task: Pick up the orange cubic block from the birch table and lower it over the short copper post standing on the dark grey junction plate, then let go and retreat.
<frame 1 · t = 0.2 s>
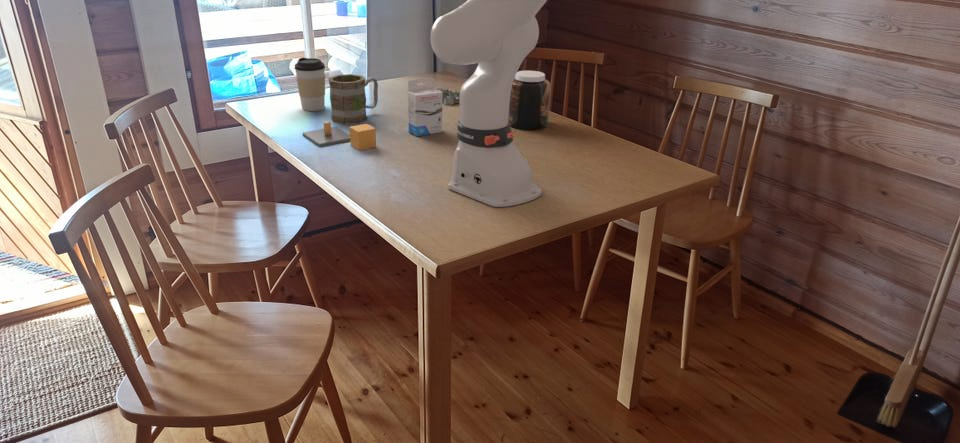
ink box: (425, 132, 190), on the table
orange cubic block: (363, 145, 178), on the table
mug: (356, 117, 201), on the table
junction plate: (328, 137, 183), on the table
coffee cup: (313, 108, 209), on the table
jar: (527, 125, 198), on the table
egg carton: (446, 101, 220), on the table
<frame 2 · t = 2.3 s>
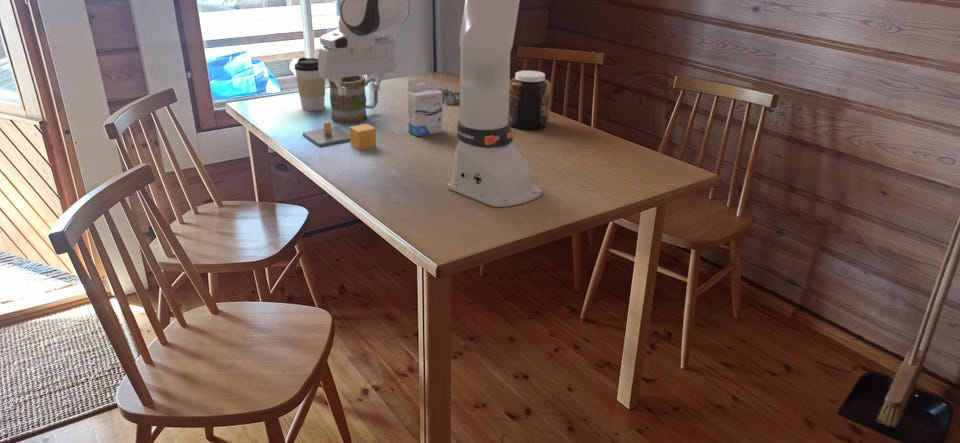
hand: (359, 92, 172), 14 cm above the table, fingers open, 8 cm apart
nothing on the table moved.
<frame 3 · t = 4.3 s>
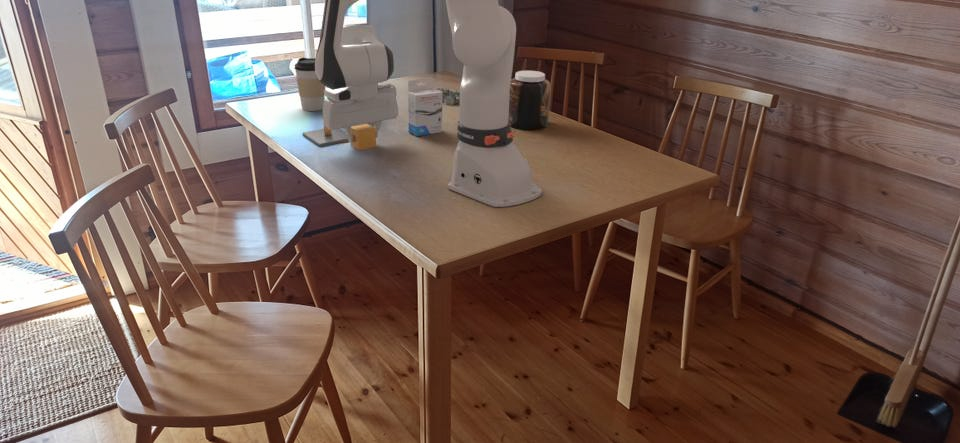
hand: (363, 139, 177), 2 cm above the table, fingers closed on orange cubic block, 5 cm apart
orange cubic block: (363, 145, 178), on the table, touching gripper
everything else where it was.
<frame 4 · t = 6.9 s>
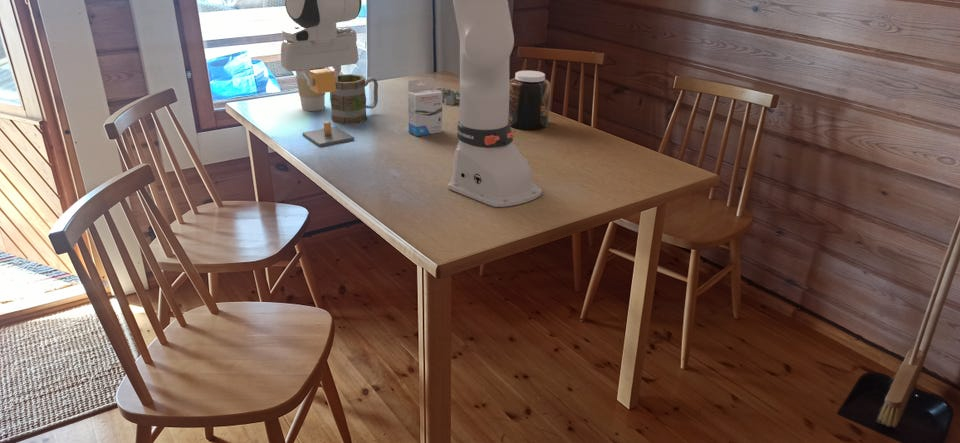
hand: (322, 84, 177), 15 cm above the table, fingers closed on orange cubic block, 5 cm apart
orange cubic block: (323, 90, 178), point 13 cm above the table, touching gripper
everything else where it was.
when the fingers open (4 cm above the table, at t = 9.5 s): orange cubic block drops 1 cm, resting on junction plate.
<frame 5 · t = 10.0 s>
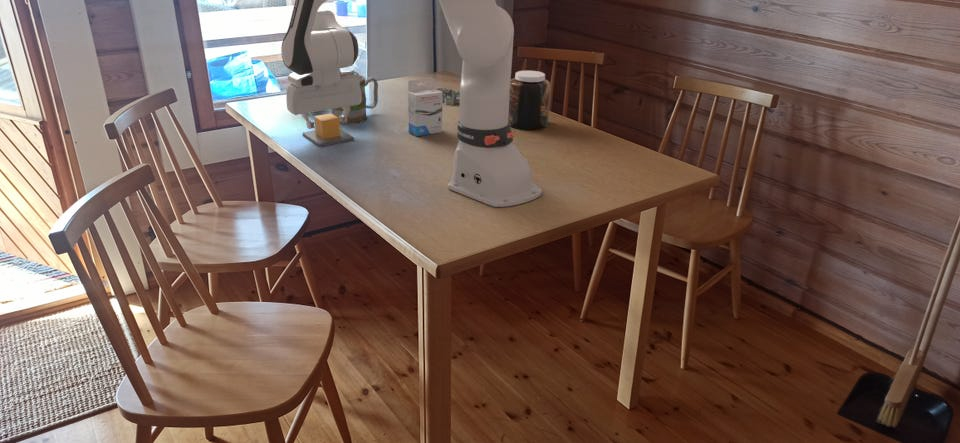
hand: (327, 125, 182), 4 cm above the table, fingers open, 8 cm apart
orange cubic block: (328, 134, 183), point 1 cm above the table, touching junction plate
everything else where it was.
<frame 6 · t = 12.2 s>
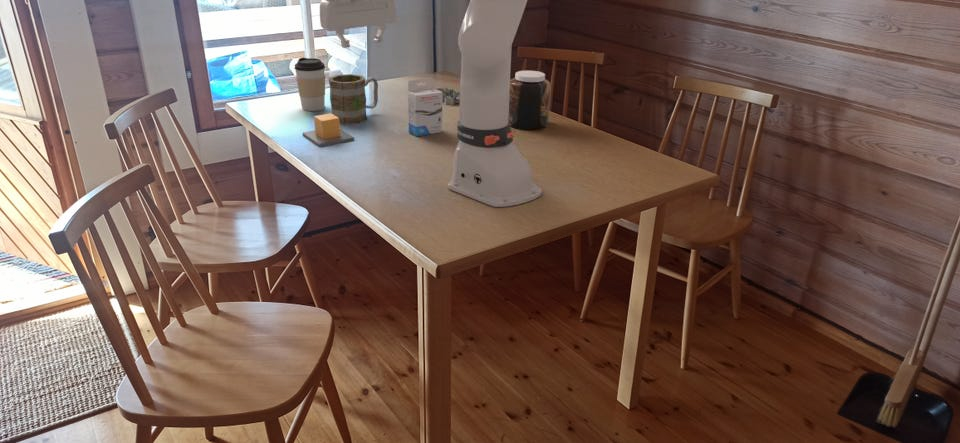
hand: (362, 44, 172), 25 cm above the table, fingers open, 8 cm apart
nothing on the table moved.
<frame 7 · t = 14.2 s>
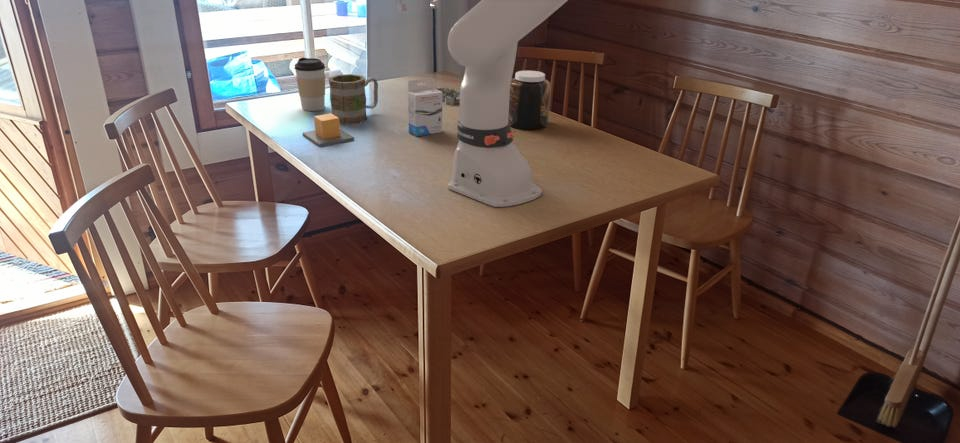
hand: (418, 9, 170), 34 cm above the table, fingers open, 8 cm apart
at the end: orange cubic block 0.0 cm from the junction plate (horizontally); orange cubic block point 0.8 cm above the table; the gripper is holding nothing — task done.
